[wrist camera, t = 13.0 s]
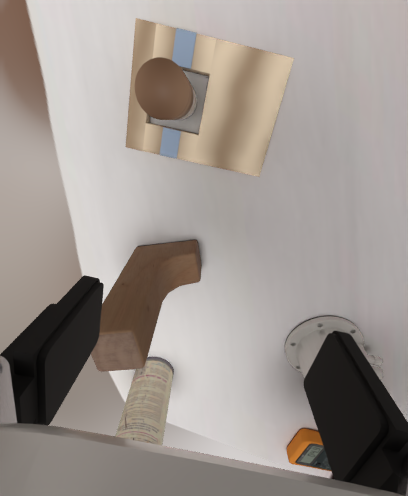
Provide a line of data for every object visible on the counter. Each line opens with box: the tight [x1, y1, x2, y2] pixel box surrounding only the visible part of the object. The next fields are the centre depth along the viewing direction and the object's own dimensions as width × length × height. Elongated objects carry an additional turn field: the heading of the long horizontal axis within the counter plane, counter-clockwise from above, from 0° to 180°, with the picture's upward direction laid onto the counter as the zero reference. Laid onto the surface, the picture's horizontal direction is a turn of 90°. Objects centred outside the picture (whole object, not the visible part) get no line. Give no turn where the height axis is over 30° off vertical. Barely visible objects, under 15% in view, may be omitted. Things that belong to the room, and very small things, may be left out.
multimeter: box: [287, 428, 332, 471], centre depth 57 cm, size 9×18×3 cm, turn 74°
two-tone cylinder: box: [135, 57, 197, 120], centre depth 25 cm, size 4×4×12 cm
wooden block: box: [91, 240, 202, 371], centre depth 31 cm, size 9×4×18 cm, turn 98°
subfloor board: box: [126, 18, 294, 177], centre depth 30 cm, size 16×12×2 cm
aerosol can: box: [115, 357, 174, 445], centre depth 41 cm, size 7×7×20 cm
